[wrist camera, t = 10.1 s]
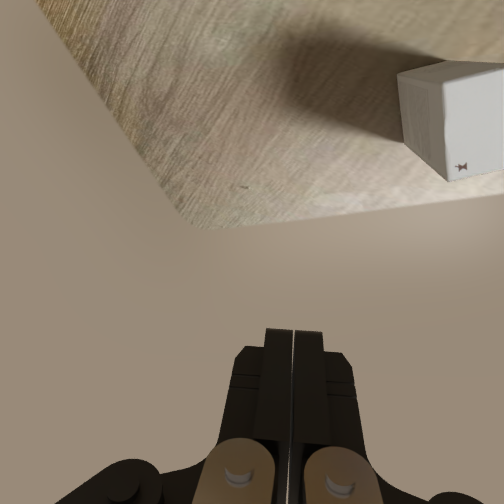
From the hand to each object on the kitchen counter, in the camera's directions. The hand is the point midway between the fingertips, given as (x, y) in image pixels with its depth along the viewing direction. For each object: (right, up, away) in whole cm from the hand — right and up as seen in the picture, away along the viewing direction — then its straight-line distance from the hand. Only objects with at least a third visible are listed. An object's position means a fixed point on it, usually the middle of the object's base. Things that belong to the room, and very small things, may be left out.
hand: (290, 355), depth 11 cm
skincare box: (+13, +15, +24) cm, 31 cm away
